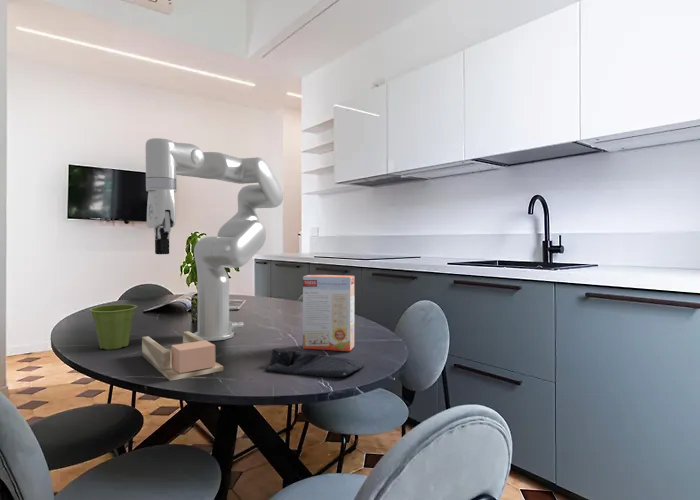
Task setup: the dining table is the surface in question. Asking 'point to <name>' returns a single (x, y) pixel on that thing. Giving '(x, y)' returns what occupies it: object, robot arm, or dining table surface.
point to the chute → (163, 358)
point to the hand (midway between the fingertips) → (162, 254)
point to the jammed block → (192, 356)
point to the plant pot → (113, 325)
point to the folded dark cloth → (311, 364)
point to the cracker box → (328, 312)
